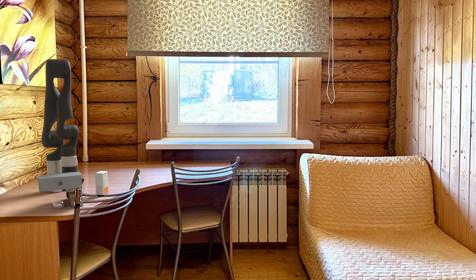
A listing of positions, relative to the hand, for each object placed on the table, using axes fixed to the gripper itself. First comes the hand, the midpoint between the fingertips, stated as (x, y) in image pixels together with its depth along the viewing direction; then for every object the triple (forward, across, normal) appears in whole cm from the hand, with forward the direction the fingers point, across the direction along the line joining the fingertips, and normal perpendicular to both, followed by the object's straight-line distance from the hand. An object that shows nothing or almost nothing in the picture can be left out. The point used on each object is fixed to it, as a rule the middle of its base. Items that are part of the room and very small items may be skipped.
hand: (71, 198), depth 215 cm
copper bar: (+1, 0, +6) cm, 6 cm away
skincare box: (+1, -16, -4) cm, 16 cm away
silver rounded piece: (+1, +6, +11) cm, 13 cm away
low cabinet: (+1, +6, +11) cm, 12 cm away
